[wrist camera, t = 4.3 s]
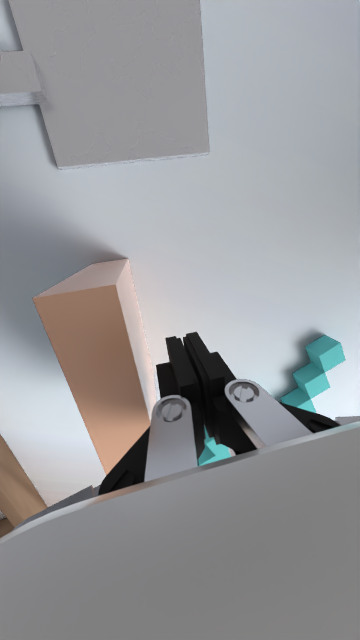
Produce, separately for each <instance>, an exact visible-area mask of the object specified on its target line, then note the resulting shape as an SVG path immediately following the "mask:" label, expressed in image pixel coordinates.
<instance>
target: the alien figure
mask: <svg viewBox="0 0 360 640" xmlns="http://www.w3.org/2000/svg"><path fill="white" fill-rule="evenodd" d="M305 348H306V351H307V353H308V356H309V358H310V361H311V363H309V364H307V365H306V366H304V367H302V368H301V369H299V370H297V371H296V372H294V373H292V374H293V377H294V379H295V381H296V383H297V385H298V388H296V389H295V390H293V391H292V392H290V393H288V394H287V395H285V396H283V397H282V398H281V400H282V402H283V403H285V404H288V405H291V406H294V407H298V408H301V409H304V410H307V411H310V412H314V413H316V410H315V408H314V406H313V403H312V401H311V398H313V397H315V396H316V395H318V394H320V393H321V392H323V391H325V390H326V389H328V388H330V385H329V383H328V380H327V377H326V374H325V372H326V371H328V370H330V369H331V368H333V367H335V366H336V365H338V364H340V363H341V362H343V361H345V356H344V353H343V349H342V346H341V343H340V342H338V341H336V340H334V339H332V338H330V337H328V336H326V335H323V336H322V337H320V338H319V339H317V340H315V341H314V342H312V343H310V344H309V345H307V346H306V347H305ZM205 435H206V439H204V440H205V449H204V450H203V452H202V454H201V456H200V458H199V466H201V465H205V464H208V463H212V462H215V461H219V460H222V459H226V458H229V457H231V455H230V453H229V449H228V447H226V446H224V445H222V444H219V445H216V443H215V440H214V437H212V438H209V436H208V433H207V431H206V428H205Z"/></svg>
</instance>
